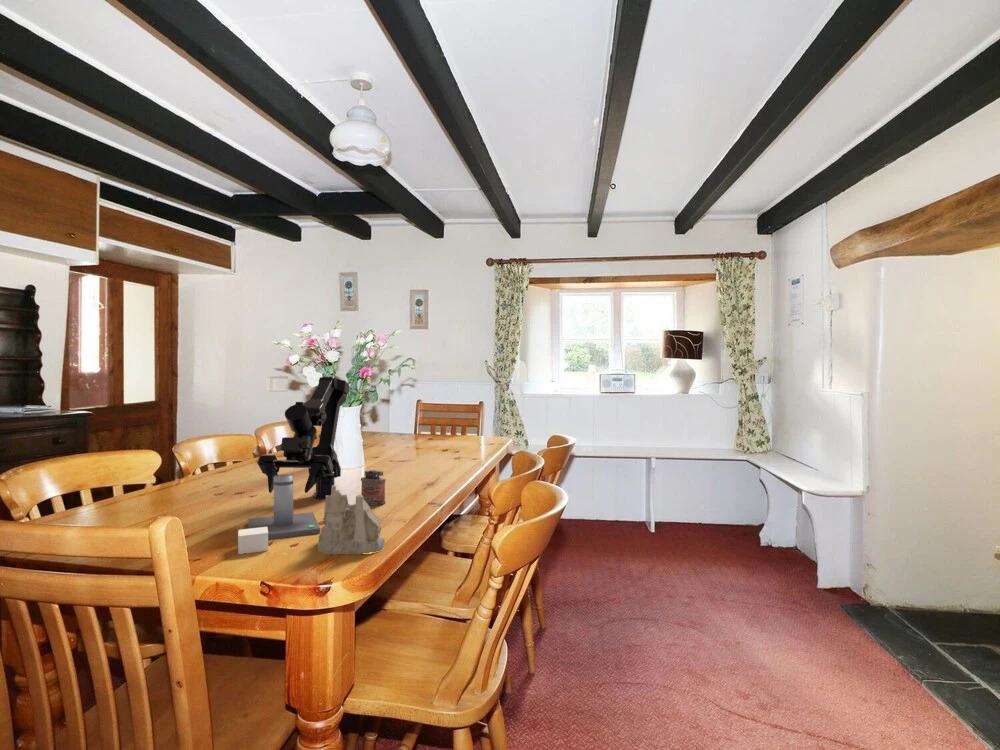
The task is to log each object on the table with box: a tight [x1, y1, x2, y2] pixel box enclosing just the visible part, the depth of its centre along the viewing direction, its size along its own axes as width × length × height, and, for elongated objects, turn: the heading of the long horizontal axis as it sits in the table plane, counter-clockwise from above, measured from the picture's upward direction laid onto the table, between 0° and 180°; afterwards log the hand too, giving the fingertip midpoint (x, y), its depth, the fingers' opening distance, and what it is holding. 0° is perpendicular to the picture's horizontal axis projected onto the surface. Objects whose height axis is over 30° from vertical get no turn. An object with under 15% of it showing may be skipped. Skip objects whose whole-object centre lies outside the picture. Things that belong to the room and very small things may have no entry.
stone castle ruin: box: [317, 485, 386, 556], centre depth 125 cm, size 16×16×15 cm
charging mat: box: [237, 511, 321, 555], centre depth 132 cm, size 24×18×4 cm
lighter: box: [360, 469, 387, 506], centre depth 161 cm, size 8×3×10 cm, turn 70°
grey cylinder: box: [273, 473, 294, 526], centre depth 136 cm, size 5×5×12 cm
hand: (287, 492), depth 139 cm, fingers open, 9 cm apart
